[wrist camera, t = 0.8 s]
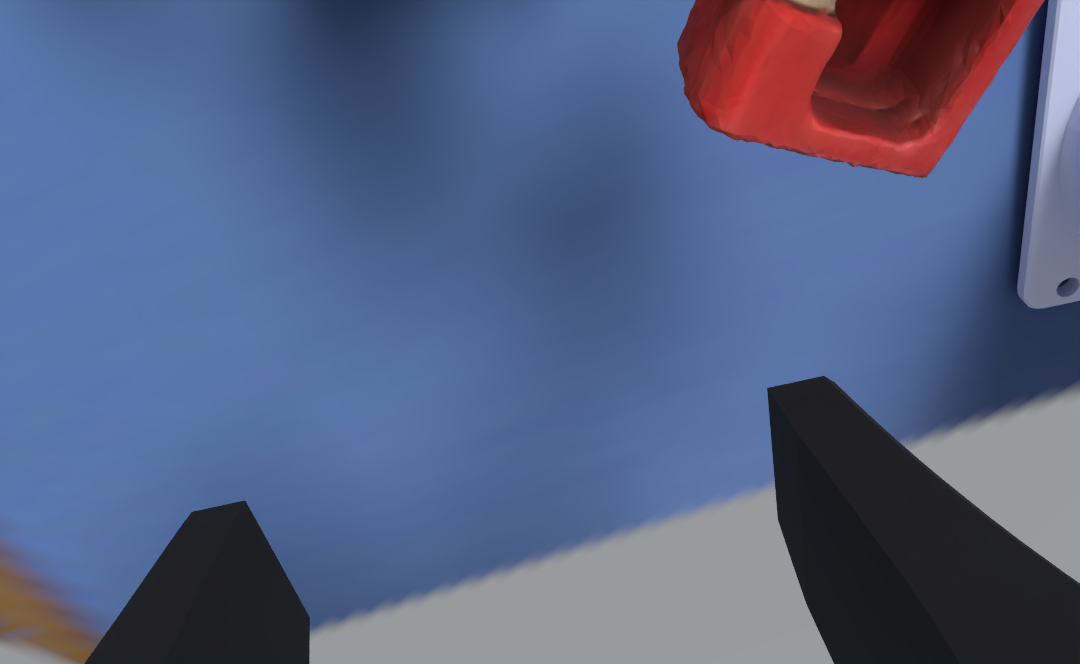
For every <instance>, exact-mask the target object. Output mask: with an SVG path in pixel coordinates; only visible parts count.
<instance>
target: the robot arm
mask: <svg viewBox="0 0 1080 664" xmlns="http://www.w3.org/2000/svg"><path fill="white" fill-rule="evenodd" d="M1068 278H1069V281H1068V282H1067V283H1066V284H1065V285H1063V286H1061V287H1058V285H1059V284H1060V283H1061V282H1062V281H1063V280H1066V279H1068ZM1017 292H1018V296H1019V297H1020V298H1021V299H1022V300H1023V301H1024V302H1025V303H1026V305H1027V306H1028V307H1031V308H1034V309H1043V308H1048V307H1052V306H1057V305H1062V304H1067V303H1071V302H1076V301H1080V0H1049V2H1048V11H1047V20H1046V30H1045V39H1044V48H1043V57H1042V66H1041V75H1040V84H1039V93H1038V103H1037V112H1036V121H1035V130H1034V139H1033V148H1032V157H1031V166H1030V176H1029V185H1028V194H1027V203H1026V212H1025V221H1024V230H1023V239H1022V248H1021V258H1020V267H1019V276H1018V285H1017ZM767 391H768V403H769V415H770V427H771V440H772V452H773V464H774V476H775V488H776V501H777V512H778V521H779V524H780V527H781V530H782V533H783V536H784V539H785V542H786V545H787V548H788V551H789V554H790V557H791V560H792V563H793V566H794V569H795V572H796V575H797V578H798V580H799V583H800V586H801V589H802V592H803V595H804V598H805V601H806V604H807V606H808V608H809V610H810V613H811V614H812V617H813V619H814V621H815V623H816V626H817V628H818V630H819V632H820V634H821V636H822V639H823V641H824V643H825V645H826V647H827V649H828V651H829V654H830V656H831V658H832V660H833V662H834V664H1080V583H1078V582H1077V581H1075V580H1074V579H1073V578H1071V577H1070V576H1068V575H1067V574H1065V573H1064V572H1063V571H1061V570H1060V569H1058V568H1057V567H1056V566H1054V565H1053V564H1052V563H1050V562H1049V561H1047V560H1046V559H1045V558H1043V557H1042V556H1041V555H1039V554H1038V553H1036V552H1035V551H1034V550H1032V549H1031V548H1030V547H1028V546H1027V545H1025V544H1024V543H1023V542H1021V541H1020V540H1019V539H1017V538H1016V537H1015V536H1013V535H1012V534H1011V533H1009V532H1008V531H1007V530H1006V529H1004V528H1003V527H1002V526H1000V525H999V524H998V523H996V522H995V521H994V520H992V519H991V518H990V517H989V516H987V515H986V514H985V513H984V512H982V511H981V510H980V509H979V508H977V507H976V506H975V505H973V504H972V503H971V502H970V501H969V500H967V499H966V498H965V497H964V496H962V495H961V494H960V493H958V491H956V490H955V489H954V488H953V487H951V486H950V485H949V484H948V483H946V482H945V481H944V480H943V479H941V478H940V477H939V476H938V475H937V474H935V473H934V472H933V471H932V470H931V469H930V468H928V467H927V466H926V465H925V464H923V463H922V462H921V461H920V460H919V459H918V458H917V457H915V456H914V455H913V454H912V453H911V452H910V451H909V450H907V449H906V448H905V447H904V446H903V445H902V444H901V443H899V442H898V441H897V440H896V439H895V438H894V437H893V436H891V435H890V434H889V433H888V432H887V431H886V430H885V429H884V428H883V427H881V426H880V425H879V424H878V423H877V422H876V421H875V420H874V419H873V418H872V417H871V416H869V415H868V414H867V413H866V412H865V411H864V410H863V409H862V408H861V407H860V406H859V405H858V404H857V403H855V402H854V401H853V400H852V399H851V398H850V397H849V396H848V395H847V394H846V393H845V392H844V391H843V390H842V389H841V388H840V387H839V386H838V385H837V384H836V383H835V382H833V381H831V380H830V379H828V378H827V377H825V376H821V377H817V378H812V379H808V380H803V381H798V382H794V383H789V384H784V385H780V386H775V387H770V388H767ZM309 632H310V617H309V615H308V614H307V612H306V610H305V608H304V606H303V604H302V603H301V601H300V599H299V597H298V595H297V594H296V592H295V590H294V588H293V586H292V585H291V583H290V581H289V579H288V577H287V575H286V574H285V572H284V570H283V568H282V566H281V565H280V563H279V561H278V559H277V557H276V556H275V554H274V552H273V550H272V548H271V546H270V545H269V543H268V541H267V539H266V537H265V536H264V534H263V532H262V530H261V528H260V527H259V525H258V523H257V521H256V519H255V517H254V516H253V514H252V512H251V510H250V508H249V507H248V505H247V503H246V501H241V502H236V503H231V504H227V505H222V506H218V507H213V508H208V509H204V510H199V511H194V512H192V513H191V514H190V515H189V517H188V518H187V519H186V521H185V522H184V523H183V525H182V526H181V527H180V529H179V530H178V531H177V533H176V534H175V536H174V537H173V538H172V540H171V541H170V543H169V544H168V546H167V547H166V548H165V550H164V551H163V553H162V554H161V556H160V557H159V559H158V560H157V561H156V563H155V564H154V566H153V567H152V569H151V570H150V571H149V573H148V574H147V576H146V577H145V579H144V580H143V582H142V583H141V585H140V586H139V587H138V589H137V590H136V592H135V593H134V595H133V596H132V597H131V599H130V600H129V602H128V603H127V605H126V606H125V608H124V609H123V610H122V612H121V613H120V615H119V616H118V617H117V619H116V620H115V622H114V623H113V624H112V626H111V627H110V629H109V630H108V631H107V633H106V634H105V636H104V637H103V638H102V640H101V641H100V643H99V644H98V645H97V647H96V648H95V650H94V651H93V652H92V654H91V655H90V657H89V658H88V659H87V661H86V662H85V664H309Z"/></svg>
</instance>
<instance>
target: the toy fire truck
mask: <svg viewBox="0 0 1080 664" xmlns="http://www.w3.org/2000/svg"><path fill="white" fill-rule="evenodd" d="M1044 1H1045V0H696V1H695V4H694V6H693V8H692V9H691V11H690V14H689V17H688V21H687V24H686V26H685V28H684V30H683V32H682V34H681V36H680V38H679V41H678V43H677V45H678V53H679V66H680V70H681V72H682V75H683V77H684V82H685V87H684V94H685V95H686V97H687V98H688V100H689V101H690V105H691V107H692V108H693V110H694V112H695V113H696V114H697V116H698V117H700V118H701V119H703V120H704V122H705V123H706V124H707V125H708V127H709V128H711V129H713V130H715V131H717V132H720V133H723V134H725V135H727V136H728V137H730V138H732V139H734V140H743V141H746V142H757V143H762V144H765V145H767V146H769V147H773V148H777V149H785V150H788V151H793V152H797V153H799V154H803V155H807V156H811V157H821V158H824V159H827V160H830V161H834V162H847V163H848V164H850V165H851V166H852V167H855V166H862V167H868V168H874V169H880V170H885V171H889V172H892V173H895V174H904V175H907V176H915V177H922V178H924V177H927V176H928V174H929V173H930V172H931V171H932V170H933V168H934V167H935V166H936V164H937V163H938V161H939V160H940V158H941V157H942V155H943V154H944V152H945V151H946V150H947V148H948V147H949V146H950V145H951V143H952V142H953V141H954V139H955V137H956V135H957V133H958V132H959V130H960V128H961V126H962V125H963V123H964V122H965V121H966V119H967V118H968V116H969V115H970V113H971V112H972V110H973V109H974V107H975V106H976V104H977V102H978V101H979V99H980V98H981V96H982V94H983V93H984V92H985V90H986V89H987V88H988V87H989V85H990V84H991V82H992V81H993V79H994V77H995V75H996V73H997V72H998V70H999V68H1000V67H1001V65H1002V64H1003V63H1004V61H1005V60H1006V58H1007V57H1008V55H1009V54H1010V52H1011V51H1012V50H1013V48H1014V47H1015V45H1016V44H1017V42H1018V41H1019V39H1020V37H1021V36H1022V34H1023V33H1024V31H1025V30H1026V28H1027V26H1028V25H1029V23H1030V22H1031V20H1032V19H1033V17H1034V15H1035V14H1036V12H1037V11H1038V9H1039V8H1040V6H1041V5H1042V4H1043V2H1044Z"/></svg>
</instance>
